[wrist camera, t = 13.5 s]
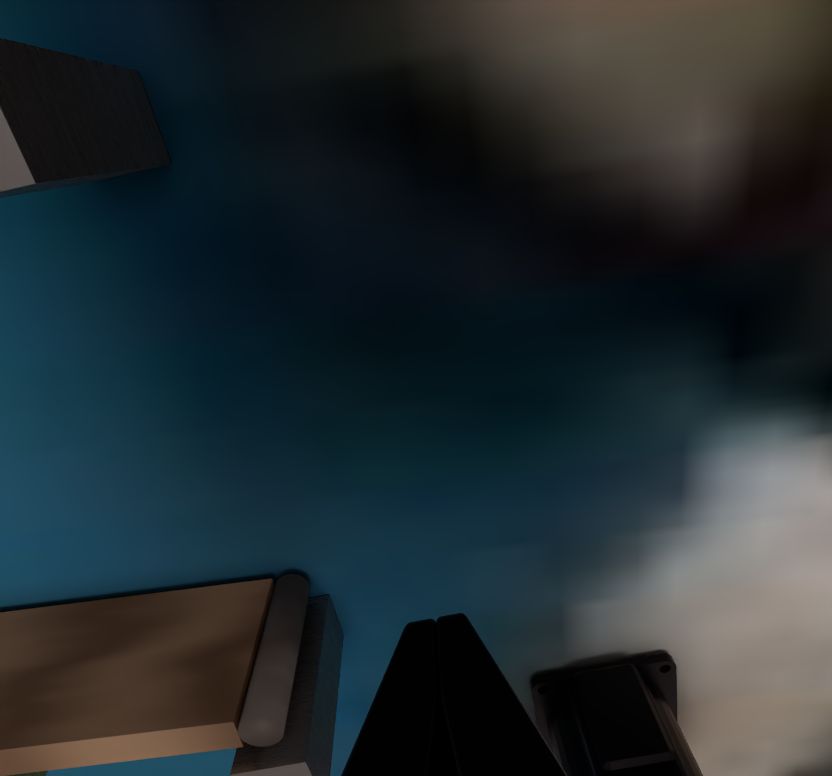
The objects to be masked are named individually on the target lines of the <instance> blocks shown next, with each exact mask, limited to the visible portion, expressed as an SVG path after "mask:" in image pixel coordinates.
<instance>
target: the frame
mask: <svg viewBox="0 0 832 776" xmlns="http://www.w3.org/2000/svg"><path fill="white" fill-rule="evenodd" d="M169 164H171V161H170V158H169V155H168V153H167V150H166V147H165V144H164V142H163V139H162V136H161V133H160V131H159V128H158V125H157V122H156V120H155V117H154V114H153V111H152V109H151V106H150V103H149V101H148V98H147V95H146V92H145V90H144V87H143V84H142V81H141V79H140V76H139V73H138V71H135V70H131V69H127V68H123V67H119V66H115V65H110V64H106V63H102V62H98V61H94V60H90V59H85V58H81V57H77V56H73V55H69V54H65V53H60V52H56V51H52V50H48V49H44V48H39V47H35V46H31V45H27V44H23V43H19V42H14V41H10V40H6V39H2V38H0V197H6V196H12V195H18V194H24V193H30V192H36V191H42V190H48V189H54V188H60V187H66V186H72V185H78V184H84V183H90V182H96V181H100V180H104V179H109V178H113V177H117V176H121V175H126V174H130V173H134V172H139V171H143V170H147V169H152V168H156V167H160V166H165V165H169ZM343 637H344V635H343V632H342V630H341V627H340V624H339V621H338V619H337V616H336V613H335V610H334V608H333V605H332V602H331V599H330V597H329V595H325V596H319V597H314V598H309V599H308V603H307V609H306V614H305V620H304V625H303V631H302V636H301V642H300V647H299V653H298V658H297V664H296V669H295V675H294V680H293V686H292V691H291V697H290V702H289V708H288V714H287V719H286V725H285V730H284V735H283V738H282V739H281V740H280V741H279V742H278V743H276V744H274V745H271V746H266V747H259V746H253V745H250V744H248V743H246V742H244V746H243V747H240V748H237V750H236V754H235V757H234V761H233V765H232V769H231V773H230V776H330V770H331V760H332V750H333V740H334V729H335V719H336V709H337V699H338V688H339V678H340V668H341V658H342V647H343ZM46 773H47V771H40V772H31V773H23V774H15V775H6V776H45V775H46Z"/></svg>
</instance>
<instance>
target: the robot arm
mask: <svg viewBox="0 0 832 776" xmlns="http://www.w3.org/2000/svg"><path fill="white" fill-rule="evenodd" d="M530 685H531V690H532V696H533V702H534V707H535V713H536V718H537V724H538V729H537V727H536V725H535V724H534V722H533V721H532V719H531V718H530V716H529V714H528V713H527V711H526V710H525V708H524V706H523V705H522V703H521V702H520V700H519V699H518V697H517V695H516V694H515V692H514V691H513V689H512V687H511V686H510V684H509V683H508V681H507V680H506V678H505V676H504V675H503V673H502V672H501V670H500V669H499V667H498V665H497V664H496V662H495V661H494V659H493V657H492V656H491V654H490V653H489V651H488V650H487V648H486V646H485V645H484V643H483V642H482V640H481V638H480V637H479V635H478V634H477V632H476V631H475V629H474V627H473V626H472V624H471V623H470V621H469V620H468V618H467V617H466V615H464V614H463V613H458V614H453V615H447V616H442V617H439V618H438V619H437V621H436V622H435V620H433V619H426V620H421V621H415V622H410V623H408V624H407V625H406V626H405V628H404V630H403V632H402V635H401V637H400V639H399V642H398V644H397V646H396V649H395V651H394V653H393V656H392V658H391V660H390V663H389V665H388V667H387V670H386V672H385V674H384V677H383V679H382V682H381V684H380V686H379V689H378V691H377V693H376V696H375V698H374V700H373V703H372V705H371V707H370V710H369V712H368V714H367V717H366V719H365V721H364V724H363V726H362V728H361V731H360V733H359V735H358V738H357V740H356V742H355V745H354V747H353V749H352V752H351V754H350V756H349V759H348V761H347V763H346V766H345V768H344V770H343V773H342V775H341V776H703V775H702V773H701V770H700V768H699V766H698V764H697V762H696V760H695V758H694V756H693V754H692V752H691V750H690V748H689V746H688V744H687V741H686V739H685V737H684V735H683V733H682V731H681V729H680V727H679V725H678V723H677V676H676V664H675V662H674V660H673V659H672V657H671V656H670V655H669V654H666V653H663V654H656V655H650V656H644V657H639V658H633V659H627V660H622V661H616V662H610V663H605V664H599V665H593V666H588V667H582V668H576V669H571V670H565V671H559V672H554V673H548V674H542V675H538V676H535V677H534V678H533V679H532V680H531V683H530Z"/></svg>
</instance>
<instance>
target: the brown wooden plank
mask: <svg viewBox="0 0 832 776" xmlns="http://www.w3.org/2000/svg"><path fill="white" fill-rule="evenodd" d="M309 592H310V585H309V583H308V581H307V580H306V579H305V578H303V577H302V576H299V575H295V574H288V575H284V576H282V577H280V578H279V579H278V580H277V582H276V584H275V586H274V583H273V580H272V578H271V579H263V580H255V581H247V582H239V583H232V584H224V585H216V586H208V587H200V588H192V589H184V590H176V591H168V592H160V593H152V594H144V595H136V596H128V597H120V598H112V599H104V600H96V601H88V602H80V603H72V604H64V605H56V606H48V607H40V608H32V609H24V610H16V611H8V612H0V776H6V775H15V774H23V773H31V772H40V771H48V770H56V769H65V768H73V767H81V766H90V765H98V764H106V763H115V762H123V761H131V760H140V759H148V758H156V757H165V756H173V755H181V754H190V753H198V752H206V751H215V750H223V749H231V748H240V747H243V746H244V742H246V743H248V744H250V745H253V746H259V747H266V746H271V745H274V744H276V743H278V742H279V741H280V740H281V739H282V738H283V735H284V730H285V725H286V719H287V714H288V708H289V702H290V697H291V691H292V686H293V680H294V675H295V669H296V664H297V658H298V653H299V647H300V642H301V636H302V631H303V625H304V620H305V614H306V609H307V603H308V598H309Z"/></svg>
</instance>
